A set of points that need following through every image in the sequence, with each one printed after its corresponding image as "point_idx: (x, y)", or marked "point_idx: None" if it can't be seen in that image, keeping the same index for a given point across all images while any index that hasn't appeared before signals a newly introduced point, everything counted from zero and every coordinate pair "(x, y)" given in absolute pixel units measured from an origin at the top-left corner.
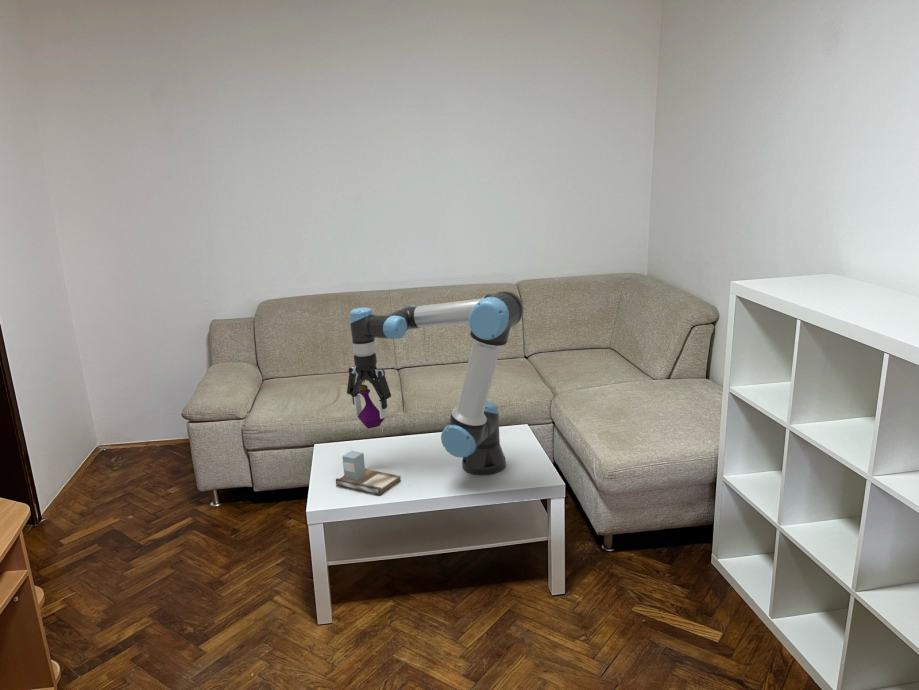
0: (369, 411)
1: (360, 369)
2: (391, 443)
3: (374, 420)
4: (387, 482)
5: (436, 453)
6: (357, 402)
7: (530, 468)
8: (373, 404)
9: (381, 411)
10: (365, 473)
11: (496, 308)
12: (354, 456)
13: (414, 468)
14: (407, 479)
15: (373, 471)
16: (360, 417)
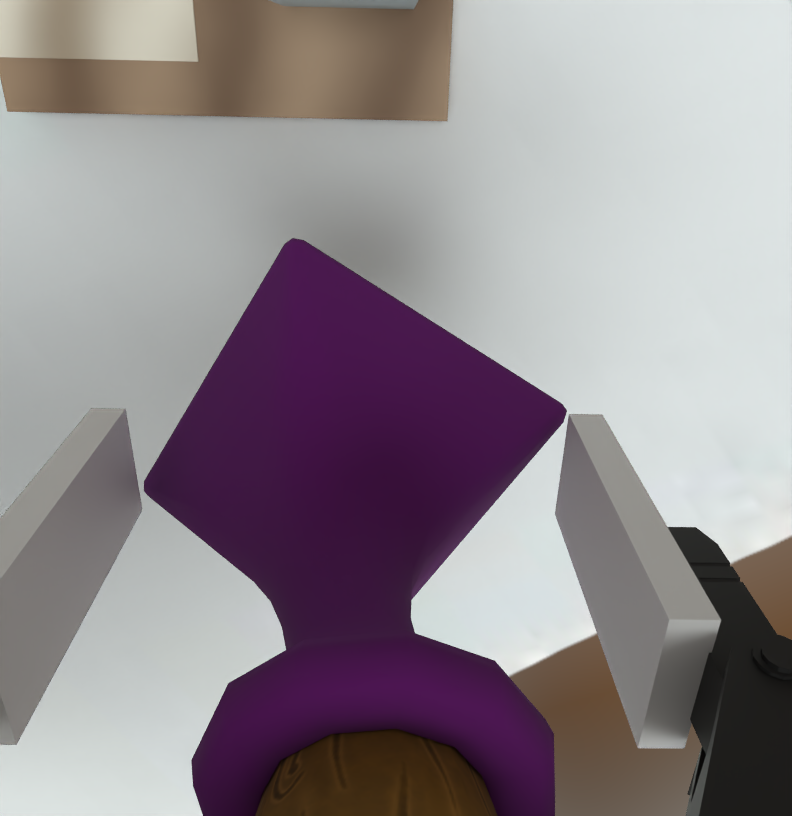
0: (276, 431)
1: None
2: (500, 590)
3: (214, 365)
4: None
5: (141, 565)
6: (617, 569)
7: None
8: (264, 592)
9: (41, 475)
10: (304, 32)
11: None
12: None
13: (105, 338)
14: (12, 161)
15: (267, 98)
16: (465, 358)
